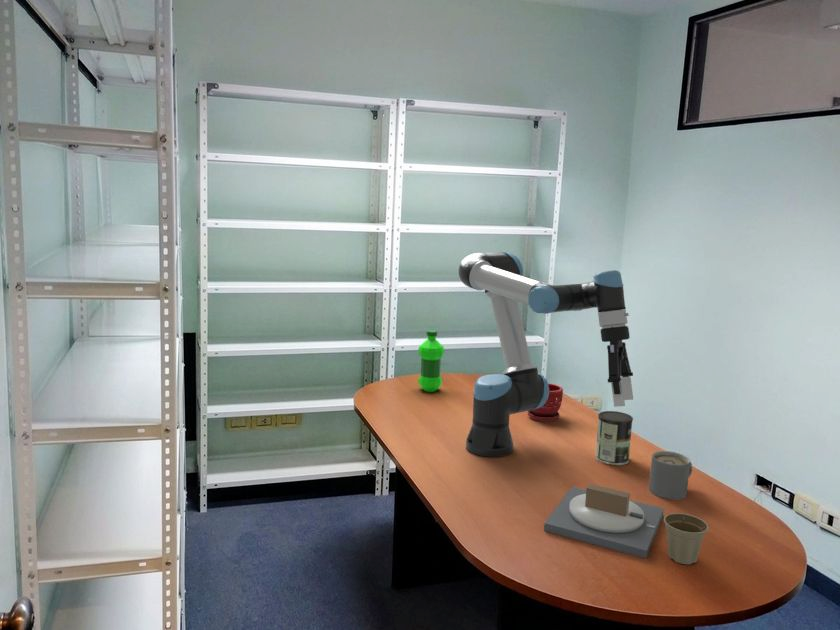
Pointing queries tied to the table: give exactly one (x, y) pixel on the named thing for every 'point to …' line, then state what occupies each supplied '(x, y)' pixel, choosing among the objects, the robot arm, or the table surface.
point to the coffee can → (613, 437)
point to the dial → (606, 510)
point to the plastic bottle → (430, 362)
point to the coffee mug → (669, 475)
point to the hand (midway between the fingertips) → (624, 403)
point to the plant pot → (549, 405)
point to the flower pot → (684, 537)
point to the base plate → (623, 542)
